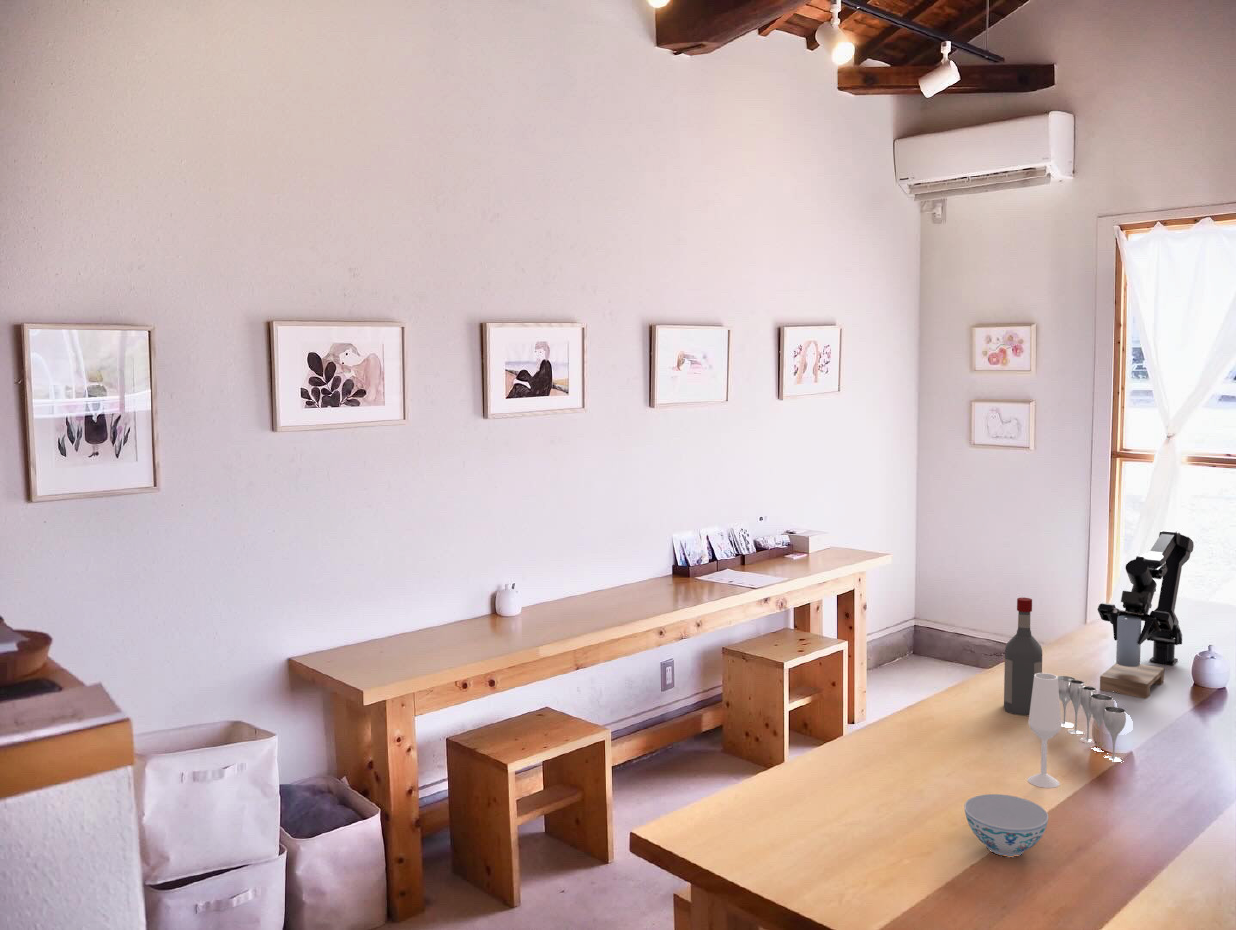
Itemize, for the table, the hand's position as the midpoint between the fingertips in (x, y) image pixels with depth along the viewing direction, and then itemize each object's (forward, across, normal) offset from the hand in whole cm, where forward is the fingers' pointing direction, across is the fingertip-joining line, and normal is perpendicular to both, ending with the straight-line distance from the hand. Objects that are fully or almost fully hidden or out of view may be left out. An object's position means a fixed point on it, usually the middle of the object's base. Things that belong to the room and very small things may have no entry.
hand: (1127, 641), depth 285 cm
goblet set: (+42, +6, -23) cm, 49 cm away
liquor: (+35, -14, -16) cm, 41 cm away
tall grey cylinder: (+4, 0, +6) cm, 7 cm away
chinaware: (+89, +15, -71) cm, 115 cm away
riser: (+7, +1, +12) cm, 14 cm away
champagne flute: (+64, +8, -45) cm, 79 cm away
